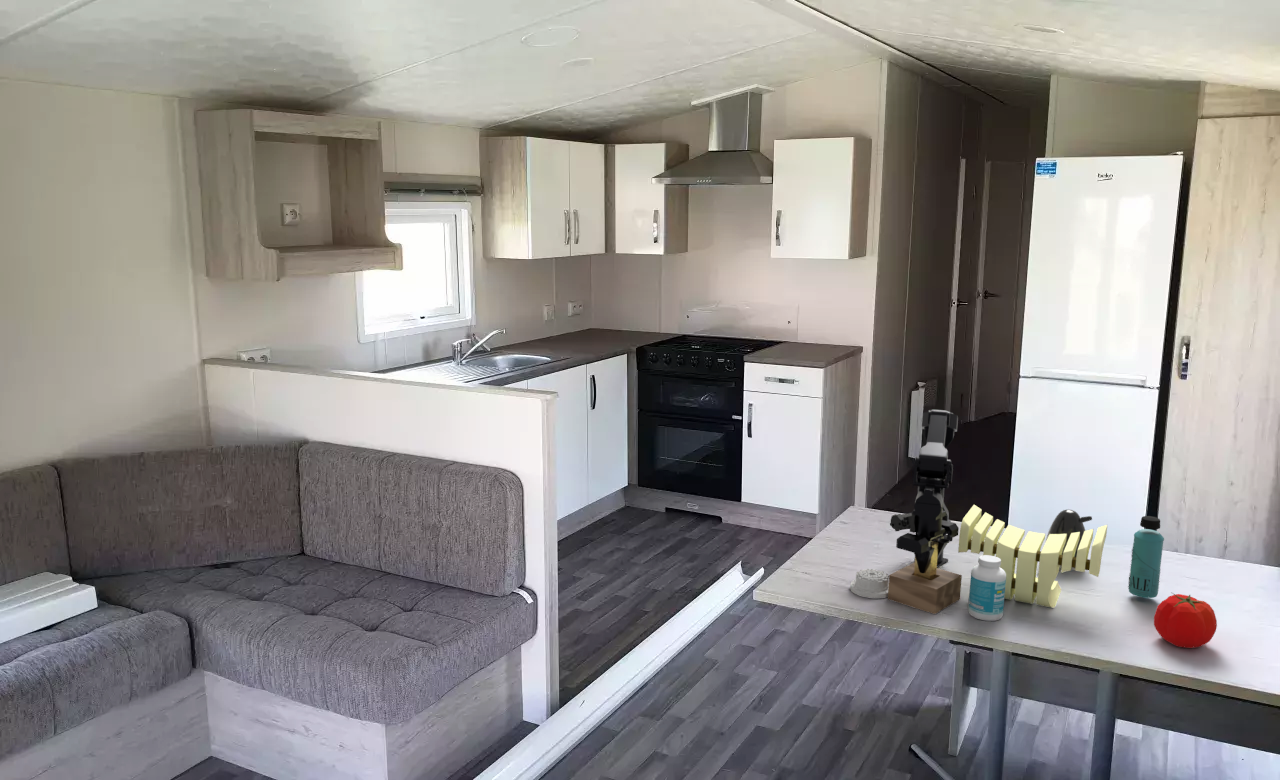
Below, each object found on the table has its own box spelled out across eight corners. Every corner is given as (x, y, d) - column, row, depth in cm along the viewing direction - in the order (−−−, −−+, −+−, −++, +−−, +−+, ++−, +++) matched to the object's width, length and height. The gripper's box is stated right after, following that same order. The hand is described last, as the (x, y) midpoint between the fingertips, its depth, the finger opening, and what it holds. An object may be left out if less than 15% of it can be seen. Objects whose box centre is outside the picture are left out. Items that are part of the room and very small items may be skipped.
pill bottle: (998, 625, 212) (1003, 566, 210) (964, 617, 216) (968, 560, 214) (1006, 613, 219) (1010, 556, 216) (972, 606, 222) (976, 550, 220)
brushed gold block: (919, 578, 228) (922, 538, 226) (935, 583, 225) (938, 542, 223) (913, 582, 226) (916, 541, 224) (929, 587, 223) (932, 545, 221)
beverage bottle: (1155, 595, 229) (1164, 514, 225) (1160, 606, 223) (1169, 523, 219) (1124, 591, 231) (1133, 511, 227) (1128, 602, 225) (1137, 520, 221)
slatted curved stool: (955, 593, 229) (960, 522, 226) (969, 572, 243) (974, 504, 240) (1093, 620, 215) (1101, 544, 212) (1100, 596, 228) (1107, 524, 225)
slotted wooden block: (913, 585, 234) (915, 561, 233) (960, 599, 226) (961, 575, 225) (887, 599, 226) (889, 574, 225) (935, 614, 218) (936, 589, 217)
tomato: (1146, 628, 211) (1151, 583, 209) (1205, 634, 208) (1211, 589, 206) (1158, 651, 200) (1163, 604, 198) (1220, 659, 197) (1227, 611, 195)
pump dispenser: (1084, 577, 240) (1089, 518, 237) (1039, 569, 246) (1044, 511, 243) (1089, 564, 249) (1095, 508, 246) (1046, 557, 254) (1051, 501, 251)
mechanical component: (850, 597, 227) (893, 601, 225) (851, 579, 227) (894, 583, 225) (850, 581, 237) (892, 585, 235) (850, 564, 236) (893, 568, 234)
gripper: (918, 491, 234) (914, 552, 237) (877, 507, 221) (873, 572, 224) (961, 500, 226) (957, 564, 229) (921, 518, 213) (917, 585, 216)
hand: (925, 570), depth 225 cm, fingers closed on brushed gold block, 3 cm apart
